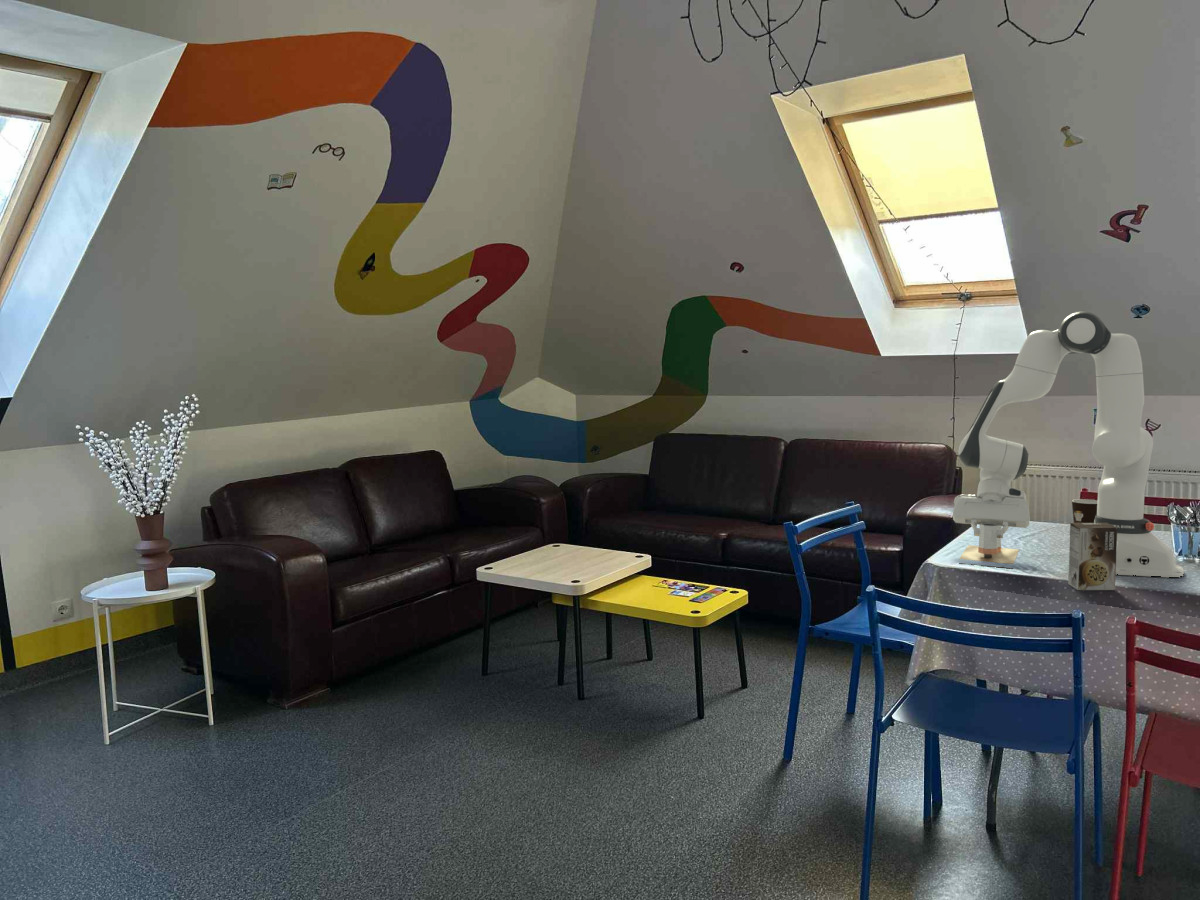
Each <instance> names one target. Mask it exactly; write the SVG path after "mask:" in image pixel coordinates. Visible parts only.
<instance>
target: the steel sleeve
mask: <svg viewBox="0 0 1200 900" xmlns="http://www.w3.org/2000/svg"><path fill="white" fill-rule="evenodd" d="M979 528H980V529H979V536H978V537H979V538H978V546H979V547H978V552H979V553H982V554H997V553H998V547H997V546H998V538H997V533H998V532H997V531H998V524H994V523H980V525H979Z"/></svg>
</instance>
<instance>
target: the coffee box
mask: <svg viewBox="0 0 1200 900" xmlns="http://www.w3.org/2000/svg"><path fill="white" fill-rule="evenodd" d="M1069 528H1070V529H1069V552H1068V553H1069V555H1068V557H1069V558H1068V582H1067V583H1068V585H1070V586H1071V587H1072V588H1073V589H1075V590H1078V591H1116V579H1117V578H1116V577H1117V574H1116V549H1117V527H1114V526H1113V525H1111V524H1108V523H1074V522H1070V525H1069Z"/></svg>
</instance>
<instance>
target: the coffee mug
mask: <svg viewBox="0 0 1200 900" xmlns="http://www.w3.org/2000/svg"><path fill="white" fill-rule="evenodd" d="M1097 502H1098V500H1095V499H1085V498H1084V499H1083V498H1080V499H1078V498H1077V499H1072V500H1071V507H1072V519H1073V523H1094V519H1095V515H1097Z"/></svg>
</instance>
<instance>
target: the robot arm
mask: <svg viewBox="0 0 1200 900" xmlns="http://www.w3.org/2000/svg"><path fill="white" fill-rule="evenodd" d="M1068 354H1069V355H1070V354H1089V355H1091V357H1092V358H1093V360H1094V366H1095V376H1096V377H1095V381H1096V385H1095V386H1096V400H1097V406H1096V416H1095V425H1094V437H1093V438H1094V439H1093V442H1092V446H1091V454H1092V456H1093V458H1094V460H1095V461H1096V462H1097V463H1099V464H1100V465H1101V466H1103V470H1102V474H1101V478H1100V481H1099V484H1098V487H1097V501H1098V502H1097V515H1095V519H1094V523H1108V524H1111V525H1113V526H1114V527H1117V549H1116V575H1117V574H1118V575H1117V576H1133V575H1134V576H1135V575H1136V576H1137V577H1138V576H1139V577H1151V576H1161V577H1160V578H1169V577H1179V578H1181V577H1180V576H1182V577H1183V576H1184V575H1185V571H1184V568H1183V567H1182V566H1180V565H1178V564H1176V560H1175V559H1176V558H1175V554H1174V551H1173V550H1172V548H1171V547H1170V546H1169V545H1168V544H1167V543H1165V542H1163V540H1161V539H1160V538H1158V537H1157V536H1156V535H1155V534H1153V532H1152V531H1153V530H1154V529H1155V524H1154V523H1153V522H1151V520H1149V519H1147V518H1145V517H1144V511H1145V509H1144V508H1145V492H1146V485H1147V480H1148V474H1149V473H1150V471H1149V470H1150V466H1151V464H1150V463H1151V459H1152V452H1153V448H1154V439H1153V437H1152V435H1151V433H1150V432H1149V431H1148V430H1146V429H1145V428H1144V427H1142V419H1143V410H1144V406H1145V386H1144V369H1143V360H1142V356H1141V355H1142V354H1141V351H1140V347H1139V344H1138V341H1137V339H1136V338H1135V337H1134V336H1132V335H1131V334H1127V333H1122V332H1121V333H1112V332H1111V331H1110V330H1109V329H1108V328H1107V326H1106V325H1105V323H1104V322H1103V320H1102V319H1101V318H1100V317H1099V316H1098V315H1096V314H1095V313H1092V312H1089V311H1084V310H1083V311H1075V312H1073V313H1070V314H1069V315H1068V316H1066V317H1065V318H1064V319H1063V320H1062V322H1061V324H1060V325H1059V328H1058V329H1056V330H1048V329H1038V330H1035V331H1032V332H1030V333H1029V334H1028V335H1027V337H1026V339H1025V341H1024V342H1023V344H1022V346H1021V348H1020V351H1019V352H1018V355H1017V357H1016V360H1015V364H1014V365H1013V369H1012V370H1011V372H1010V373H1009V374H1008V375H1007V377H1006V378H1004V379H1001V380H998V381H997V382H996V383H995V384H994V385H993V387H992V388H991V390H990V391H989V393H988V395H987V397H986V399H985V400H984V402H983V403H982V406H981V407H980V409H979V411H978V413H977V415H976V417H975V418H974V421H973V423H972V425H971V426H970V428H969V430H968V432H967V433H966V435H965V436H964V437H963V439H961V442H960V444H959V447H958V451H957V452H958V453H957V456H958V458H959V460H960V462H962V464H963V465H964V466H965V467H967V468H968V467H969V468H973V469H980V471H979V480H980V481H979V483H978V486H977V491H976V494H959V495H957V496H955V497H954V500H953V510H952V519H953V522H954V523H955V524H966V525H971V528H972V530H973V536H974V537H979V529H980V527H977V526H978V525H979V526H980V523H994V524H998V526H1002V528H1001V530H998V531H997V532H998V533H997V538H1001V539H1003V538H1004V534H1005V533H1007V531H1008V530H1009V528H1019V529H1020V528H1021V529H1022V528H1023V529H1026V528H1028V527H1030V524H1031V523H1030V522H1031V520H1030V509H1029V508H1030V507H1029V503H1028V501H1027V499H1028V498H1027V494H1026V492H1025V491H1024V490H1022V489H1018V488H1014V487H1012V486H1011V482H1012V481H1015V480H1017V479H1018V478H1019V479H1020V477H1022V476H1023V475H1024V474H1025V472H1026V470H1027V467H1028V463H1029V461H1028V460H1029V453H1028V450H1027V448H1026V446H1025V445H1024V444H1021V443H1019V442H1015V441H1011V440H1007V439H1006V440H1005V439H1003V438H1002V439H1001V438H998V437H995V436H991V435H990V436H989V435H988V434H987V431H988V429H989V428H990V426H991V423H992V422H993V420H994V419H995V416H996V415H997V413H998V411H999V410H1000V409H1001V408H1002V407H1003V406H1006V405H1008V404H1012V403H1013V404H1014V403H1020V402H1021V403H1022V402H1029V401H1035V400H1038V399H1040V398H1043V397H1044V396H1046V395H1047V394H1048V393H1049V392H1051V391H1050V390H1051V389H1052V387H1053V384H1054V382H1055V380H1056V377H1057V374H1058V371H1059V368H1060V365H1061V363H1062V361H1063V359H1064V357H1065V356H1066V355H1068ZM1183 574H1184V575H1183ZM1136 576H1135V577H1136Z"/></svg>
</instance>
